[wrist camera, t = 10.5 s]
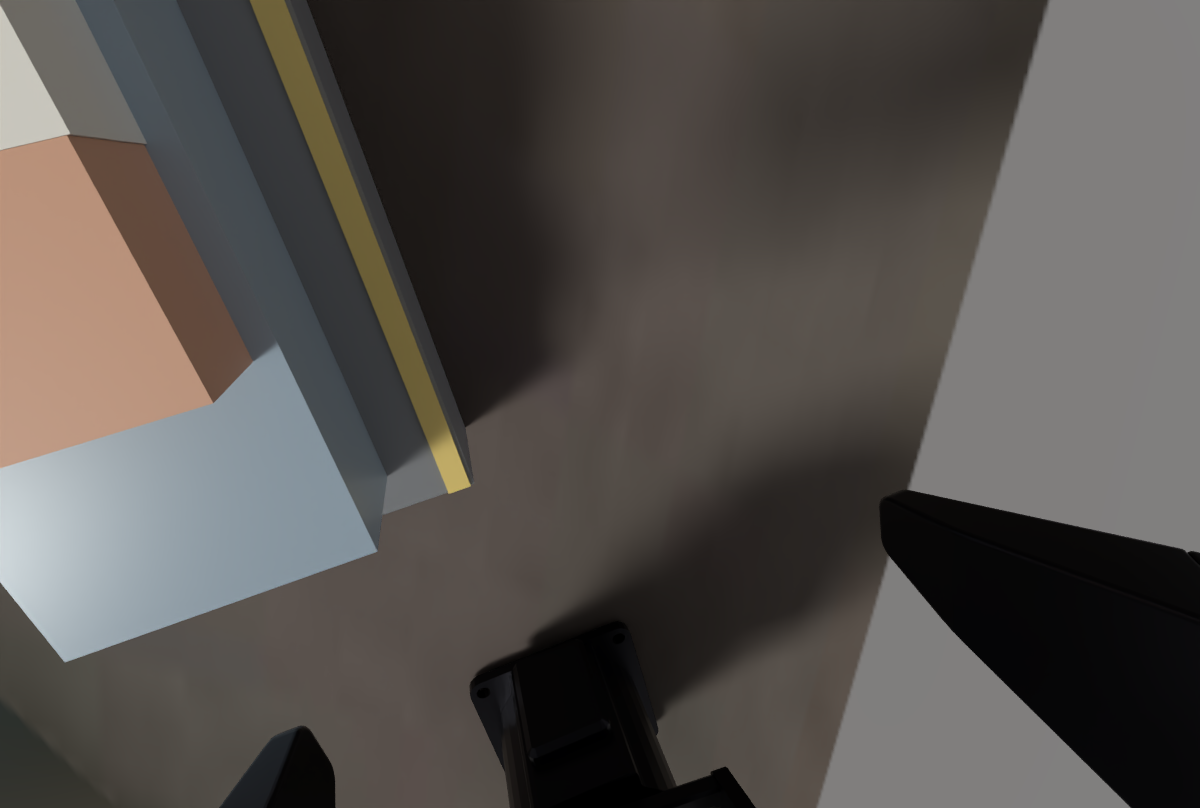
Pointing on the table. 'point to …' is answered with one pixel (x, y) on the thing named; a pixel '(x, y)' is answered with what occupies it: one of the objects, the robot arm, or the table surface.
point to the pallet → (203, 435)
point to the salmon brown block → (100, 299)
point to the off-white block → (56, 78)
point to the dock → (335, 234)
